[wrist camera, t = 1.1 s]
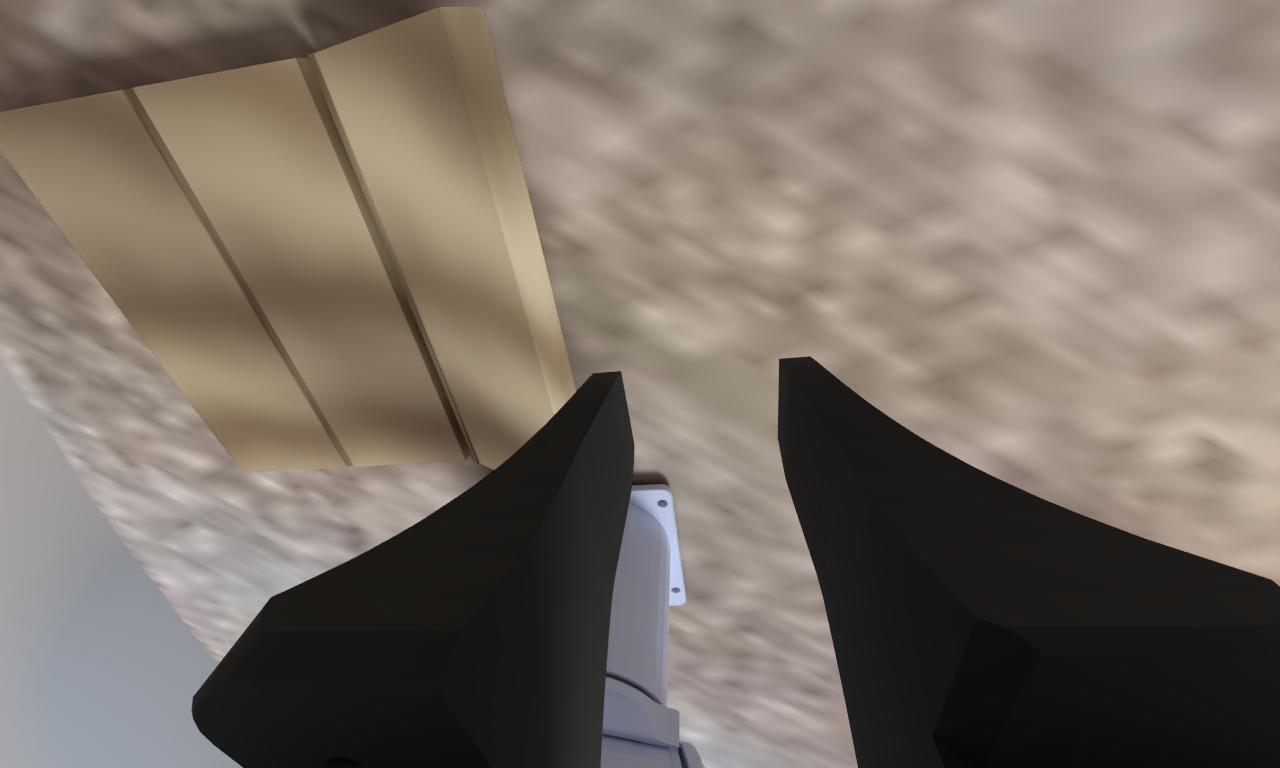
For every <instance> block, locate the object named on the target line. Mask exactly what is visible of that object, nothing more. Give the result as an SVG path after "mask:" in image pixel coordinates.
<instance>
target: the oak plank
mask: <svg viewBox="0 0 1280 768" xmlns="http://www.w3.org/2000/svg"><path fill="white" fill-rule="evenodd" d="M307 56H308V59H309V61H310V64H311V66H312V69H313V71H314V73H315V76H316V78H317V81H318V83H319V86H320V88H321V90H322V93H323V95H324V98H325V100H326V103H327V105H328V107H329V110H330V112H331V115H332V117H333V120H334V122H335V124H336V127H337V129H338V132H339V134H340V137H341V139H342V141H343V144H344V146H345V149H346V151H347V154H348V156H349V158H350V161H351V163H352V166H353V168H354V171H355V173H356V175H357V178H358V180H359V183H360V185H361V188H362V190H363V192H364V195H365V197H366V200H367V202H368V205H369V207H370V209H371V212H372V214H373V217H374V219H375V222H376V224H377V227H378V229H379V231H380V234H381V236H382V239H383V241H384V244H385V246H386V248H387V251H388V253H389V256H390V258H391V261H392V263H393V265H394V268H395V270H396V273H397V275H398V278H399V280H400V282H401V285H402V287H403V290H404V292H405V295H406V297H407V299H408V302H409V304H410V307H411V309H412V312H413V314H414V316H415V319H416V321H417V324H418V326H419V329H420V331H421V333H422V336H423V338H424V341H425V343H426V346H427V348H428V350H429V353H430V355H431V358H432V360H433V363H434V365H435V367H436V370H437V372H438V375H439V377H440V380H441V382H442V384H443V387H444V389H445V392H446V394H447V397H448V399H449V401H450V404H451V406H452V409H453V411H454V414H455V416H456V418H457V421H458V423H459V426H460V428H461V431H462V433H463V435H464V438H465V440H466V443H467V445H468V448H469V450H470V452H471V455H472V457H473V460H474V462H476V463H477V464H479V463H480V464H482V465H484V466H486V467H488V468H490V469H492V470H495V469H496V468H497V467H499V466H500V465H501V464H502V463H504V462H505V461H506V460H507V459H508V458H509V457H511V456H512V455H513V454H514V453H515V452H516V451H517V450H518V449H520V448H521V447H522V446H523V445H524V444H525V443H526V442H527V441H528V440H529V439H530V438H531V437H532V436H533V435H535V434H536V433H537V432H538V431H539V430H540V429H541V428H542V427H543V426H544V425H545V424H546V423H547V422H548V421H549V420H550V419H551V418H552V417H553V416H554V415H555V414H556V413H557V412H558V411H559V410H560V409H561V408H562V406H563V405H564V404H565V403H566V402H567V401H568V400H569V399H570V398H571V397H572V396H573V395H574V394H575V393H576V388H575V384H574V379H573V375H572V371H571V367H570V363H569V359H568V355H567V351H566V346H565V342H564V338H563V334H562V330H561V326H560V322H559V318H558V314H557V309H556V305H555V301H554V297H553V293H552V289H551V285H550V281H549V276H548V272H547V268H546V264H545V260H544V256H543V252H542V248H541V244H540V239H539V235H538V231H537V227H536V223H535V219H534V215H533V211H532V206H531V202H530V198H529V194H528V190H527V186H526V182H525V178H524V174H523V169H522V165H521V161H520V157H519V153H518V149H517V145H516V141H515V136H514V132H513V128H512V124H511V120H510V116H509V112H508V108H507V104H506V99H505V95H504V91H503V87H502V83H501V79H500V75H499V71H498V66H497V62H496V58H495V54H494V50H493V46H492V42H491V38H490V33H489V29H488V25H487V21H486V17H485V13H484V9H483V7H437V8H435V9H432V10H429V11H427V12H424V13H421V14H418V15H416V16H413V17H410V18H408V19H405V20H402V21H400V22H397V23H394V24H391V25H389V26H386V27H383V28H381V29H378V30H375V31H372V32H370V33H367V34H364V35H362V36H359V37H356V38H354V39H351V40H348V41H345V42H343V43H340V44H337V45H335V46H332V47H329V48H327V49H324V50H321V51H318V52H316V53H311V54H308V55H307Z"/></svg>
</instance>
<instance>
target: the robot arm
mask: <svg viewBox="0 0 1280 768" xmlns="http://www.w3.org/2000/svg"><path fill="white" fill-rule="evenodd" d="M778 441H779V446H780V452H781V457H782V463H783V468H784V473H785V478H786V481H787V484H788V488H789V491H790V494H791V497H792V500H793V503H794V506H795V509H796V512H797V515H798V518H799V521H800V524H801V527H802V531H803V534H804V537H805V540H806V543H807V546H808V549H809V552H810V555H811V558H812V561H813V564H814V567H815V570H816V573H817V577H818V580H819V584H820V587H821V591H822V595H823V599H824V603H825V608H826V613H827V617H828V622H829V626H830V631H831V635H832V640H833V644H834V649H835V654H836V659H837V664H838V668H839V673H840V678H841V683H842V688H843V693H844V697H845V702H846V707H847V713H848V718H849V723H850V728H851V733H852V738H853V743H854V749H855V754H856V759H857V764H858V768H1280V586H1278V585H1277V584H1276V583H1275V582H1273V581H1272V580H1270V579H1267V578H1264V577H1261V576H1258V575H1255V574H1252V573H1249V572H1246V571H1243V570H1240V569H1237V568H1233V567H1230V566H1227V565H1224V564H1221V563H1218V562H1215V561H1212V560H1209V559H1206V558H1203V557H1200V556H1197V555H1194V554H1190V553H1187V552H1184V551H1181V550H1178V549H1175V548H1172V547H1169V546H1166V545H1163V544H1160V543H1157V542H1154V541H1151V540H1148V539H1145V538H1142V537H1139V536H1136V535H1134V534H1131V533H1128V532H1126V531H1123V530H1120V529H1118V528H1115V527H1112V526H1110V525H1107V524H1104V523H1102V522H1099V521H1097V520H1094V519H1091V518H1089V517H1086V516H1083V515H1081V514H1078V513H1075V512H1073V511H1071V510H1068V509H1066V508H1063V507H1061V506H1059V505H1056V504H1054V503H1051V502H1049V501H1046V500H1044V499H1042V498H1039V497H1037V496H1035V495H1033V494H1030V493H1028V492H1026V491H1024V490H1022V489H1019V488H1017V487H1015V486H1013V485H1011V484H1008V483H1006V482H1004V481H1002V480H1000V479H997V478H995V477H993V476H991V475H989V474H987V473H985V472H983V471H981V470H979V469H977V468H975V467H973V466H971V465H969V464H967V463H965V462H963V461H962V460H960V459H958V458H956V457H954V456H952V455H951V454H949V453H947V452H945V451H943V450H941V449H940V448H938V447H936V446H934V445H932V444H931V443H929V442H927V441H926V440H924V439H922V438H921V437H919V436H917V435H916V434H914V433H913V432H911V431H910V430H908V429H907V428H905V427H903V426H902V425H900V424H899V423H897V422H896V421H894V420H893V419H891V418H890V417H888V416H887V415H885V414H884V413H882V412H881V411H880V410H878V409H877V408H875V407H874V406H873V405H871V404H870V403H868V402H867V401H866V400H864V399H863V398H862V397H860V396H859V395H858V394H856V393H855V392H854V391H853V390H851V389H850V388H849V387H847V386H846V385H845V384H844V383H842V382H841V381H840V380H839V379H838V378H836V377H835V376H834V375H833V374H831V373H830V372H829V371H828V370H826V369H825V368H824V367H823V366H822V365H820V364H819V363H818V362H817V361H815V360H814V359H813V358H812V357H797V358H784V359H779V403H778ZM633 467H634V440H633V435H632V429H631V424H630V418H629V413H628V407H627V402H626V396H625V390H624V385H623V379H622V374H621V371H618V372H606V373H593V374H592V375H591V376H590V377H589V378H588V379H587V381H586V382H585V383H584V384H583V385H582V386H581V387H580V388H579V389H578V390H577V391H576V393H575V394H574V395H573V396H572V397H571V398H570V399H569V400H568V401H567V402H566V403H565V404H564V405H563V406H562V408H561V409H560V410H559V411H558V412H557V413H556V414H555V415H554V416H553V417H552V418H551V419H550V420H549V421H548V422H547V423H546V424H545V425H544V426H543V427H542V428H541V429H540V430H539V431H538V432H537V433H536V434H535V435H533V436H532V437H531V438H530V439H529V440H528V441H527V442H526V443H525V444H524V445H523V446H522V447H521V448H520V449H518V450H517V451H516V452H515V453H514V454H513V455H512V456H511V457H509V458H508V459H507V460H506V461H505V462H504V463H502V464H501V465H500V466H499V467H497V468H496V469H495V470H494V471H492V472H491V473H490V474H488V475H487V476H486V477H484V478H483V479H482V480H481V481H479V482H478V483H477V484H475V485H474V486H473V487H471V488H470V489H468V490H467V491H465V492H464V493H462V494H461V495H459V496H458V497H456V498H455V499H453V500H452V501H450V502H449V503H447V504H446V505H444V506H443V507H441V508H440V509H438V510H437V511H435V512H434V513H432V514H431V515H429V516H428V517H426V518H425V519H423V520H421V521H420V522H418V523H416V524H415V525H413V526H411V527H410V528H408V529H406V530H404V531H403V532H401V533H399V534H398V535H396V536H394V537H392V538H390V539H389V540H387V541H385V542H383V543H381V544H379V545H378V546H376V547H374V548H372V549H370V550H369V551H367V552H365V553H363V554H361V555H359V556H357V557H355V558H353V559H351V560H349V561H347V562H345V563H343V564H341V565H339V566H337V567H335V568H333V569H331V570H328V571H326V572H324V573H322V574H320V575H318V576H316V577H314V578H312V579H310V580H307V581H305V582H303V583H301V584H299V585H297V586H295V587H293V588H291V589H289V590H286V591H284V592H282V593H280V594H277V595H275V596H273V597H271V598H270V599H269V601H268V602H267V603H266V605H265V606H264V607H263V608H262V610H261V611H260V612H259V614H258V615H257V616H256V617H255V619H254V620H253V621H252V623H251V624H250V625H249V626H248V628H247V629H246V630H245V631H244V633H243V634H242V635H241V637H240V638H239V639H238V640H237V642H236V643H235V644H234V645H233V647H232V648H231V649H230V651H229V652H228V653H227V654H226V656H225V657H224V658H223V660H222V661H221V662H220V663H219V665H218V666H217V667H216V669H215V670H214V671H213V672H212V674H211V675H210V676H209V677H208V679H207V680H206V681H205V683H204V684H203V685H202V686H201V688H200V689H199V690H198V691H197V693H196V694H195V695H194V697H193V702H192V715H193V719H194V721H195V723H196V725H197V727H198V729H199V731H200V732H201V733H202V734H203V735H204V736H205V737H206V738H207V739H208V740H209V741H210V742H211V743H212V744H213V745H215V746H216V747H217V748H219V749H220V750H221V751H222V752H224V753H225V754H226V755H228V756H229V757H230V758H232V759H233V760H234V761H235V762H237V763H238V764H239V765H241V766H242V767H243V768H705V767H704V765H703V763H702V761H701V758H700V756H699V754H698V752H697V750H696V748H695V747H694V746H693V745H692V744H690V743H688V742H683V741H679V711H678V710H675V709H671V708H667V671H668V634H669V605H682V604H684V603H685V602H686V592H685V585H684V578H683V570H682V563H681V556H680V549H679V541H678V534H677V527H676V520H675V512H674V505H673V498H672V491H671V488H670V487H668V486H667V485H664V484H653V485H632V483H633ZM659 500H665V501H664V502H662V501H659Z"/></svg>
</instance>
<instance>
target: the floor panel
mask: <svg viewBox="0 0 1280 768" xmlns="http://www.w3.org/2000/svg"><path fill="white" fill-rule="evenodd" d="M0 150H1V152H2V153H3V154H4V156H5V157H6V158H7V160H8V161H9V162H10V164H11V165H12V166H13V168H14V169H15V170H16V172H17V173H18V174H19V175H20V177H21V178H22V179H23V181H24V182H25V183H26V185H27V186H28V187H29V189H30V190H31V191H32V193H33V194H34V195H35V197H36V198H37V199H38V201H39V202H40V203H41V205H42V206H43V207H44V209H45V210H46V211H47V213H48V214H49V215H50V217H51V218H52V219H53V221H54V222H55V223H56V225H57V226H58V227H59V229H60V230H61V231H62V233H63V234H64V235H65V237H66V238H67V239H68V241H69V242H70V243H71V245H72V246H73V247H74V249H75V250H76V251H77V253H78V254H79V255H80V257H81V258H82V259H83V261H84V262H85V263H86V265H87V266H88V267H89V269H90V270H91V271H92V273H93V274H94V275H95V277H96V278H97V279H98V281H99V282H100V283H101V285H102V286H103V287H104V289H105V290H106V291H107V293H108V294H109V295H110V297H111V298H112V299H113V301H114V302H115V303H116V305H117V306H118V307H119V309H120V310H121V311H122V313H123V314H124V315H125V317H126V318H127V319H128V321H129V322H130V323H131V325H132V326H133V327H134V329H135V330H136V331H137V333H138V334H139V335H140V337H141V338H142V339H143V341H144V342H145V343H146V345H147V346H148V347H149V349H150V350H151V351H152V353H153V354H154V355H155V357H156V358H157V359H158V361H159V362H160V363H161V365H162V366H163V367H164V369H165V370H166V371H167V373H168V374H169V375H170V377H171V378H172V379H173V381H174V382H175V383H176V385H177V386H178V387H179V389H180V390H181V391H182V393H183V394H184V395H185V397H186V398H187V399H188V401H189V402H190V403H191V405H192V406H193V407H194V409H195V410H196V411H197V413H198V414H199V415H200V417H201V418H202V419H203V420H204V422H205V423H206V424H207V426H208V427H209V428H210V430H211V431H212V432H213V434H214V435H215V436H216V438H217V439H218V440H219V442H220V443H221V444H222V446H223V447H224V448H225V450H226V451H227V452H228V454H229V455H230V456H231V458H232V459H233V460H234V462H235V463H236V464H237V466H238V467H239V468H240V470H241V471H242V472H243V473H250V472H268V471H286V470H304V469H322V468H340V467H347V466H352V465H354V467H358V466H376V465H394V464H412V463H430V462H448V461H466V459H467V457H468V455H469V454H470V450H469V448H468V445H467V443H466V440H465V438H464V435H463V433H462V431H461V428H460V426H459V423H458V421H457V418H456V416H455V414H454V411H453V409H452V406H451V404H450V401H449V399H448V397H447V394H446V392H445V389H444V387H443V384H442V382H441V380H440V377H439V375H438V372H437V370H436V367H435V365H434V363H433V360H432V358H431V355H430V353H429V350H428V348H427V346H426V343H425V341H424V338H423V336H422V333H421V331H420V329H419V326H418V324H417V321H416V319H415V316H414V314H413V312H412V309H411V307H410V304H409V302H408V299H407V297H406V295H405V292H404V290H403V287H402V285H401V282H400V280H399V278H398V275H397V273H396V270H395V268H394V265H393V263H392V261H391V258H390V256H389V253H388V251H387V248H386V246H385V244H384V241H383V239H382V236H381V234H380V231H379V229H378V227H377V224H376V222H375V219H374V217H373V214H372V212H371V209H370V207H369V205H368V202H367V200H366V197H365V195H364V192H363V190H362V188H361V185H360V183H359V180H358V178H357V175H356V173H355V171H354V168H353V166H352V163H351V161H350V158H349V156H348V154H347V151H346V149H345V146H344V144H343V141H342V139H341V137H340V134H339V132H338V129H337V127H336V124H335V122H334V120H333V117H332V115H331V112H330V110H329V107H328V105H327V103H326V100H325V98H324V95H323V93H322V90H321V88H320V86H319V83H318V81H317V78H316V76H315V73H314V71H313V69H312V66H311V64H310V61H309V59H308V58H292V59H286V60H281V61H275V62H270V63H264V64H259V65H253V66H248V67H243V68H237V69H232V70H226V71H221V72H215V73H210V74H204V75H199V76H193V77H188V78H182V79H177V80H172V81H166V82H161V83H155V84H150V85H144V86H139V87H133V88H130V89H125V90H117V91H111V92H106V93H100V94H95V95H90V96H84V97H79V98H73V99H68V100H62V101H57V102H51V103H46V104H40V105H35V106H29V107H24V108H19V109H13V110H8V111H2V112H0Z"/></svg>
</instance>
